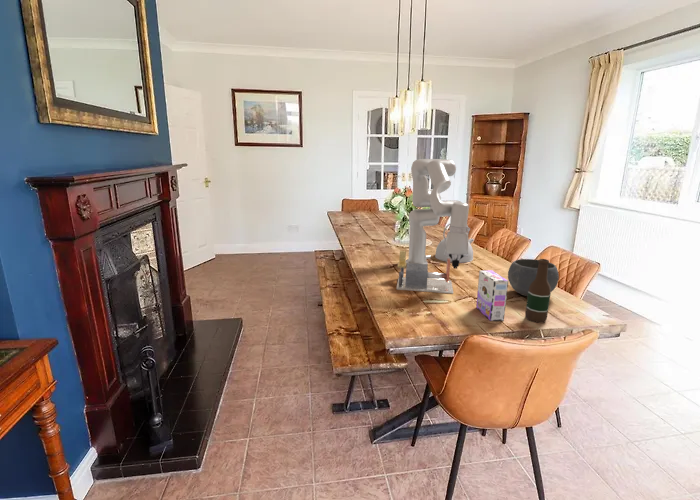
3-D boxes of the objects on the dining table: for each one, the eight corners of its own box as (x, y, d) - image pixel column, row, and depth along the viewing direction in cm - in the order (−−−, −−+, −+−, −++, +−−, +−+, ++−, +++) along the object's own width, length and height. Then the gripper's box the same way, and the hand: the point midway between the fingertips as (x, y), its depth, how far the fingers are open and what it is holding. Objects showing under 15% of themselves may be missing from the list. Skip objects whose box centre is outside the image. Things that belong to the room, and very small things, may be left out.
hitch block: (450, 281, 189) (452, 263, 187) (453, 293, 172) (454, 274, 170) (398, 277, 194) (399, 260, 192) (396, 289, 177) (397, 270, 175)
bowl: (566, 300, 165) (571, 268, 161) (527, 305, 159) (532, 271, 155) (532, 285, 184) (536, 256, 180) (496, 289, 178) (500, 259, 174)
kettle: (461, 251, 247) (464, 218, 242) (484, 260, 227) (487, 224, 221) (428, 254, 240) (430, 219, 234) (448, 264, 219) (451, 226, 213)
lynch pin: (448, 280, 182) (449, 257, 179) (448, 283, 177) (450, 260, 174) (414, 277, 185) (415, 256, 182) (414, 281, 180) (415, 258, 177)
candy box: (504, 321, 144) (509, 280, 140) (489, 321, 144) (494, 280, 140) (488, 306, 157) (492, 269, 153) (475, 307, 157) (478, 269, 153)
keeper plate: (406, 264, 191) (407, 250, 189) (405, 268, 184) (406, 254, 182) (398, 263, 191) (399, 250, 190) (397, 267, 185) (398, 253, 183)
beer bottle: (537, 324, 141) (546, 263, 135) (520, 317, 148) (528, 258, 142) (551, 320, 145) (560, 261, 139) (533, 313, 151) (541, 256, 145)
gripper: (473, 228, 175) (470, 266, 180) (441, 227, 178) (438, 264, 182) (476, 232, 168) (472, 271, 172) (441, 230, 170) (439, 269, 175)
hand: (455, 267), depth 177 cm, fingers closed
